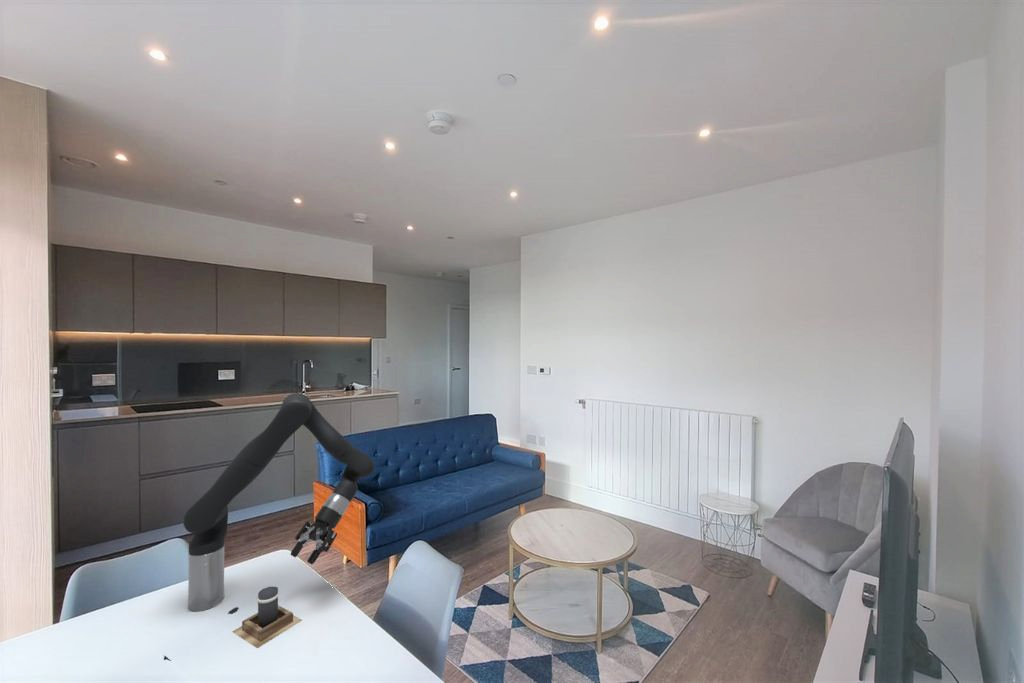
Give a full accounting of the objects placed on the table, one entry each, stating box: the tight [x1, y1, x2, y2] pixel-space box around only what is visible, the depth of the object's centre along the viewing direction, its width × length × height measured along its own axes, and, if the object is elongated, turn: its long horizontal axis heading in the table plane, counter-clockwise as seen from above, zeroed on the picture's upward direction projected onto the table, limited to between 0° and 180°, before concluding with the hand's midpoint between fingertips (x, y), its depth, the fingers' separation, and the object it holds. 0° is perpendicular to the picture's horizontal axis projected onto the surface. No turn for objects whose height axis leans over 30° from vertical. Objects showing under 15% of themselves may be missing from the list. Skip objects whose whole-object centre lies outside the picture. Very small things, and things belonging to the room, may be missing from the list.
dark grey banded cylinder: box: [257, 585, 279, 628], centre depth 119 cm, size 5×5×10 cm
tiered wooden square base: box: [231, 604, 303, 649], centre depth 119 cm, size 13×13×3 cm
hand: (301, 559), depth 128 cm, fingers open, 8 cm apart
